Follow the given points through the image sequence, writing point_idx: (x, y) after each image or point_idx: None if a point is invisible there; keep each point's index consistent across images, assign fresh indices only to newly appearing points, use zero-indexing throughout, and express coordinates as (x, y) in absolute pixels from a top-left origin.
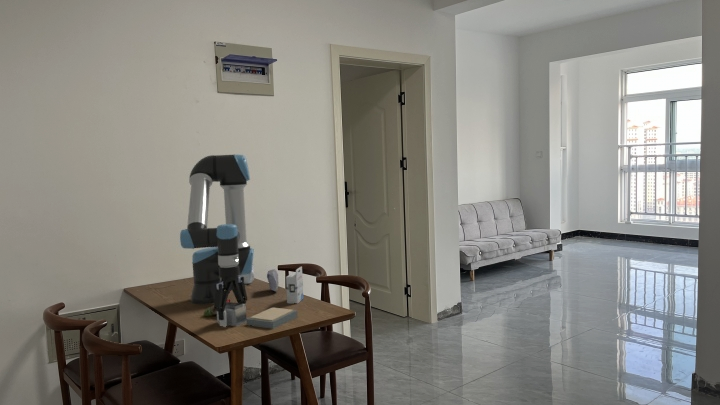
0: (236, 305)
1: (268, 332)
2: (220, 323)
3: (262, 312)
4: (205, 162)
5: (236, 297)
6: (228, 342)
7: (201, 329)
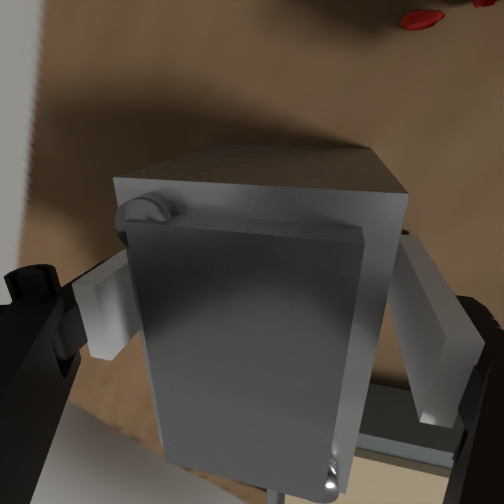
0: (217, 461)
1: (239, 484)
2: None
3: None
4: None
5: (456, 481)
6: None
7: (91, 71)
